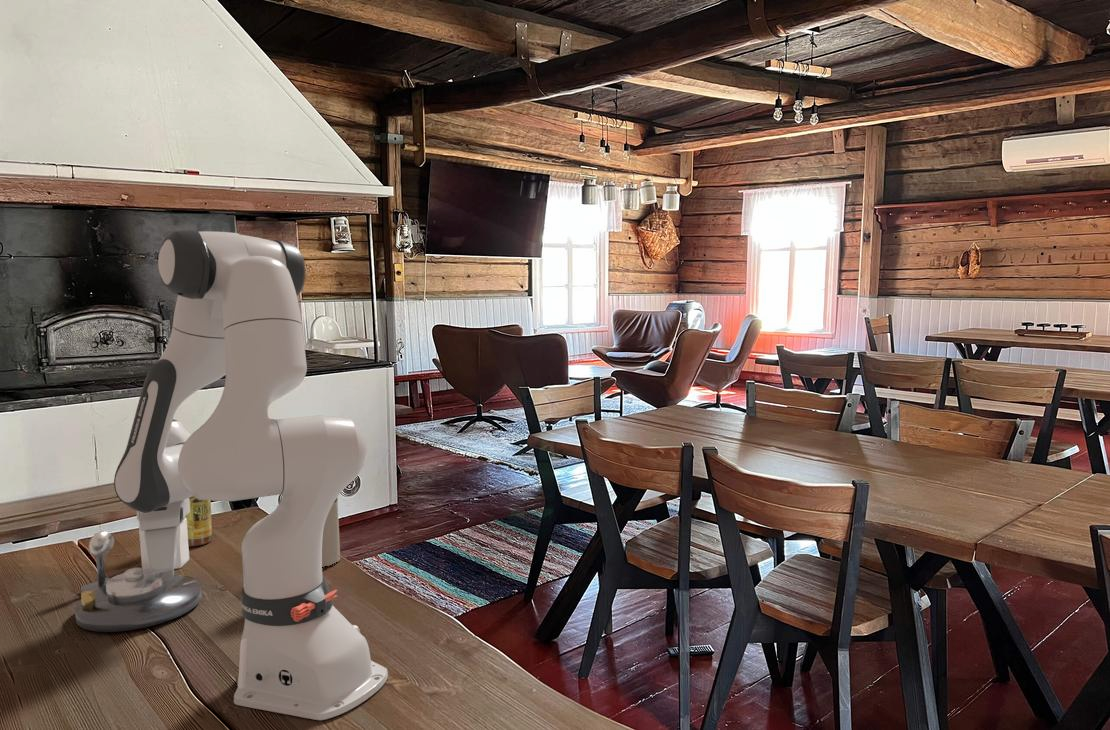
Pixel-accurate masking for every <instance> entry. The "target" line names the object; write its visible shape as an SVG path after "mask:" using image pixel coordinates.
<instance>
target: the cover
mask: <svg viewBox="0 0 1110 730" xmlns="http://www.w3.org/2000/svg"><path fill="white" fill-rule="evenodd" d="M163 590H164V589H163V575H162V572H152V571H151V569H143V568H142V567H133V568H129V569H127V570H125V571H124V572H122V573H119V574H117V575H115V576H113V577H111V579H109V580H108V581H107V582H106V592H107V601H108V602H109V603H110V604H114V605H130V604H136V603H141V602H145V601H148V600H151V599H153V598H155V597H157V596H159V595H160V594H161V593H162V592H163Z"/></svg>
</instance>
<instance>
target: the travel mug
mask: <svg viewBox="0 0 1110 730" xmlns="http://www.w3.org/2000/svg"><path fill="white" fill-rule="evenodd" d="M338 500H339V499H338V497H337V498H336V500H335V501H334V503H333V505H332V507H331V509H330V511H329V513H328V515H327V518H326V521H325V525H324V529H323V539H322V567H323V566H328V565H331V564H333V565H335V564H337V563H338V562H339V561H340V560H341V549H340V548H341V545H340V543H341V542H340V528H339V527H340V526H339V525H340V524H339V523H340V521H339V503H338ZM334 553H335V554H334ZM338 555H339V556H340V557H339V556H338ZM336 562H337V563H336ZM334 563H335V564H334ZM331 566H332V565H331ZM328 567H329V566H328ZM323 568H324V567H323Z"/></svg>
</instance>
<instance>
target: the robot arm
mask: <svg viewBox="0 0 1110 730" xmlns="http://www.w3.org/2000/svg"><path fill="white" fill-rule="evenodd" d="M301 253H302V252H300V250H299V248H298V247H296V246H295V245H294V244H292V243H287V242H285V241H282V240H277V239H274V240H271V239H265V238H261V237H257V236H251V235H244V234H240V233H238V232H230V231H229V232H228V231H212V230H211V231H209V230H208V231H207V230H206V231H205V230H204V231H202V230H201V231H198V230H197V229H195V228H194V229H180V230H174V231H172V232H170V233H169V235H167V236H166V237H165V238H164V240H163V241H162V243H161V247H160V250H159V253H158V259H157V261H158V262H157V263H158V264H157V265H158V271H159V276H160V280H161V282H162V284H163V286H164V287H165V288H166V289H167V290H168V291H169V292H170V293H171V294H173V295H177V298H176V303H175V308H174V312H173V321H172V327H171V333H170V336H169V339H168V342H167V345H166V347H165V349H164V351H163V353H162V354H161V356H160V357H159V359H158V360H157V361H155V363H154V364H153V365H151V366H150V368H149V370H148V372H147V374H146V377H145V379H144V382H143V386H142V389H141V392H140V397H139V400H138V403H137V408H136V411H135V415H134V418H133V423H132V425H131V430H130V434H129V437H128V441H127V443H126V444H127V445H126V448H125V450H124V452H123V455H122V458H121V459H120V461H119V464H118V465H117V468H116V471H115V474H114V479H113V486H114V491H115V494H116V497H117V498H118V499H119V501H120V502H122V504H124V505H125V506H127V507H129V509H132V510H134V511H136V519H137V521H138V525H139V526H140V530H141V531H142V530H144V536H145V543H146V549H147V555H148V560H149V565H150V568H151V571H152V572H162V575H163V581H170V580H172V579H173V577H174V574H175V569H174V564H175V559H176V554H177V549H178V544H179V539H180V524H181V523H182V522H183V519H184V517H185V516H186V515H187V514H189V513H190V501H189V498H190V497H193V496H194V497H195V498H197V499H198V500H211V501H213V502H214V501H215V502H218V501H219V502H236V501H243V500H244V501H245V500H250V499H256V498H265V497H271V496H279V495H280V496H282V498H281V501H280V502H279V503H278V505H279V506H278V505H277V506H278V507H276V508H275V509H274V510H273V511H272V512H270V513H269V514H268V515H266V516H265V517H264V518H261V519H260V520H258V521H257V522H256V523H254V524H253V525H252V526H251V527H250V528H249V529H248V531H247V532H246V534H245V535H244V537H243V540H242V542H241V558H242V559H241V561H242V563H241V564H242V579H243V587H242V589H241V593H240V596H241V597H240V606H241V614H242V615H241V616H242V617H243V618H244V626H243V630H242V631H243V632H242V634H241V635H242V636H241V639H240V645H239V648H240V649H239V665H238V666H239V667H238V678H237V683H236V684H237V685H236V686H237V688H236V690H235V692H234V693H233V694H234V695H233V704H234V705H236V706H241V707H246V708H251V709H256V710H261V711H262V710H263V711H268V712H272V713H276V714H277V713H278V714H283V715H287V716H288V715H289V716H294V717H299V718H304V719H311V720H316V721H325V720H328V719H331V718H334V717H337V716H339V715H342V714H345V713H347V712H349V711H351V710H352V709H354V708H355V707H357V706H359V705H361V704H362V703H363V702H365V701H366V700H368V699H369V698H371V697H372V696H373V695H374V694H376V693H377V692H378V691H379V690H380V689H381V688H382V687H383V686H384V685H385V683H386V682H387V680H388V678H389V672H388V668H386V666H385V667H384V666H383V665H381V664H379V663H377V662H374V661H373V660H371V653H370V648H369V644H368V641H367V640H366V639H367V638H366V637H365V636H364V635H362V633H361V630H360V628H359V626H358V625H356V624H352V623H351V622H350V621H348V619H347V618H346V617H345V616H344V615H343V614H342V613H341V612H340V611H339V610H338V609H337V608H336V607H335V606H334V599H335V598H337V597H338V595H335V594H336V593H337V592H338V589H334V590H332V591H330V589H329V586H328V583H327V580H326V578H325V577H324V575H323V568H322V539H323V529H324V525H325V521H326V518H327V515H328V513H329V511H330V509H331V507H332V505H333V503H334V501H335V500H336V498H338V497H339V496H340V495H341V493H342V492H343V491H344V489H345V488H346V487H347V486H349V484H351V482H353V481H354V480H355V479H357V477H358V476H359V475H360V473H361V471H362V470H363V468H364V466H365V463H366V461H367V451H368V450H367V449H368V447H367V440H366V438H365V436H364V433H363V431H362V430H361V428H360V427H359V425H358V424H357V423H355V421H354V420H352V419H351V418H349V417H343V416H331V415H321V414H320V415H310V416H299V417H290V418H289V417H288V418H279V419H276V418H275V419H274V418H269V416H268V412H269V411H268V410H269V406H270V405H271V404H272V403H273V402H275V401H277V400H278V399H280V398H282V397H283V396H286V395H287V394H289V393H290V392H291V391H294V389H296V388H297V387H299V386H300V385H301V384H302V382H303V381H304V379H305V377H306V374H307V372H308V366H307V357H306V346H305V341H304V340H305V339H304V330H303V322H302V316H301V309H300V304H299V300H298V299H299V298H298V296H299V294H300V293H301V292H302V290H303V288H304V285H305V282H306V273H307V272H306V263H305V259H304V257H303V255H302V254H301ZM223 377H225V382H224V386H223V391H222V393H221V397H220V400H219V401H218V404H217V406H216V407H215V409H214V410H213V412H212V413H211V415H210V416H209V418H208V419H207V420H206V421H205V422H204V423H203V424H202V425H201V426H200V427H199V428H197V429H196V430H195V431H193V432H192V433H191V432H189V431H187V429H186V428H185V427H184V425H183V423H182V421H180V420H177V419H174V416H175V414H176V412H177V410H178V409H179V407H180V406H181V405H182V403H184V401H186V399H188V398H189V397H190V396H192V395H193V394H195V393H197V392H198V391H200V390H201V389H203V388H205V387H206V386H208V385H211V384H212V383H215V382H216V381H219V380H220V379H222V378H223Z"/></svg>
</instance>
